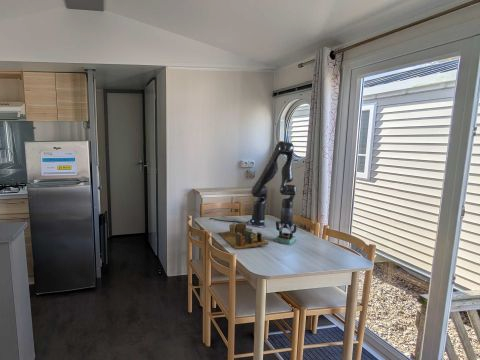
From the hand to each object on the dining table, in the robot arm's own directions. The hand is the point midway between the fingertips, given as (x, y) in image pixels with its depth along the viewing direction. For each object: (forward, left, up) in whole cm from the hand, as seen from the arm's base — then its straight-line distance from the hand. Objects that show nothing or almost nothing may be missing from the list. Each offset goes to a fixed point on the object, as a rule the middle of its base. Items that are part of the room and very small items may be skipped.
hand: (285, 237), depth 205 cm
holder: (0, 0, -3) cm, 3 cm away
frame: (0, 0, -1) cm, 1 cm away
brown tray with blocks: (-23, -18, -3) cm, 29 cm away
